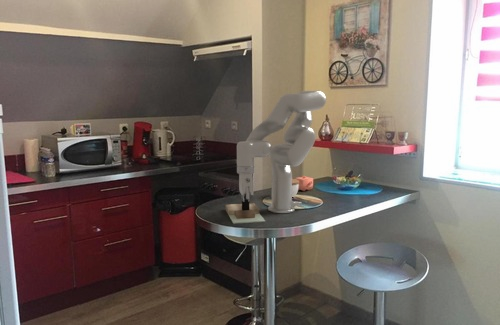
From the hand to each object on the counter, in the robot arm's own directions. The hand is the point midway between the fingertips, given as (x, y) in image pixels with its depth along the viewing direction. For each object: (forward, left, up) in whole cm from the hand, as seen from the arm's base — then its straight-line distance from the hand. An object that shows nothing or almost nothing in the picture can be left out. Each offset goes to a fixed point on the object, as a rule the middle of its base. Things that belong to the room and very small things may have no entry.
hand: (245, 209), depth 190 cm
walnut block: (0, 0, -3) cm, 3 cm away
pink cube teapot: (-44, -49, -4) cm, 66 cm away
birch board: (0, -9, -3) cm, 10 cm away
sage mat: (0, +3, -3) cm, 4 cm away
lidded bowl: (-29, -34, -4) cm, 44 cm away
